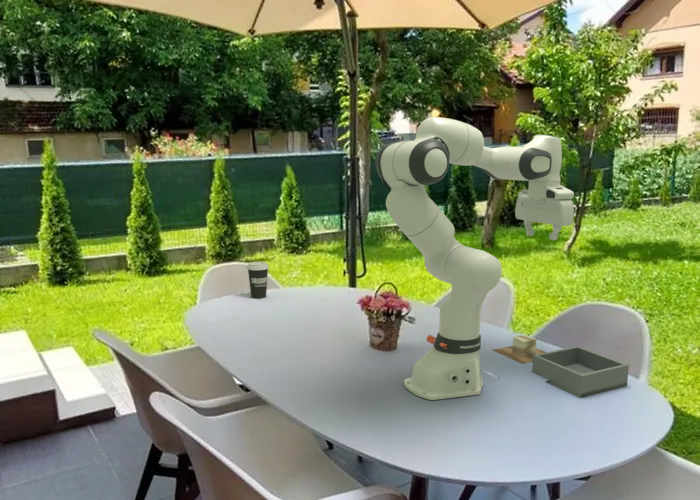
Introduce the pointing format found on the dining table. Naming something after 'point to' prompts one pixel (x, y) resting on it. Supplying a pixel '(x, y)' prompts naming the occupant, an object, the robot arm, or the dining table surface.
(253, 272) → the coffee cup
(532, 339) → the cream block
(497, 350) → the walnut board
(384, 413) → the dining table surface
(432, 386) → the robot arm
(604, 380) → the bin
